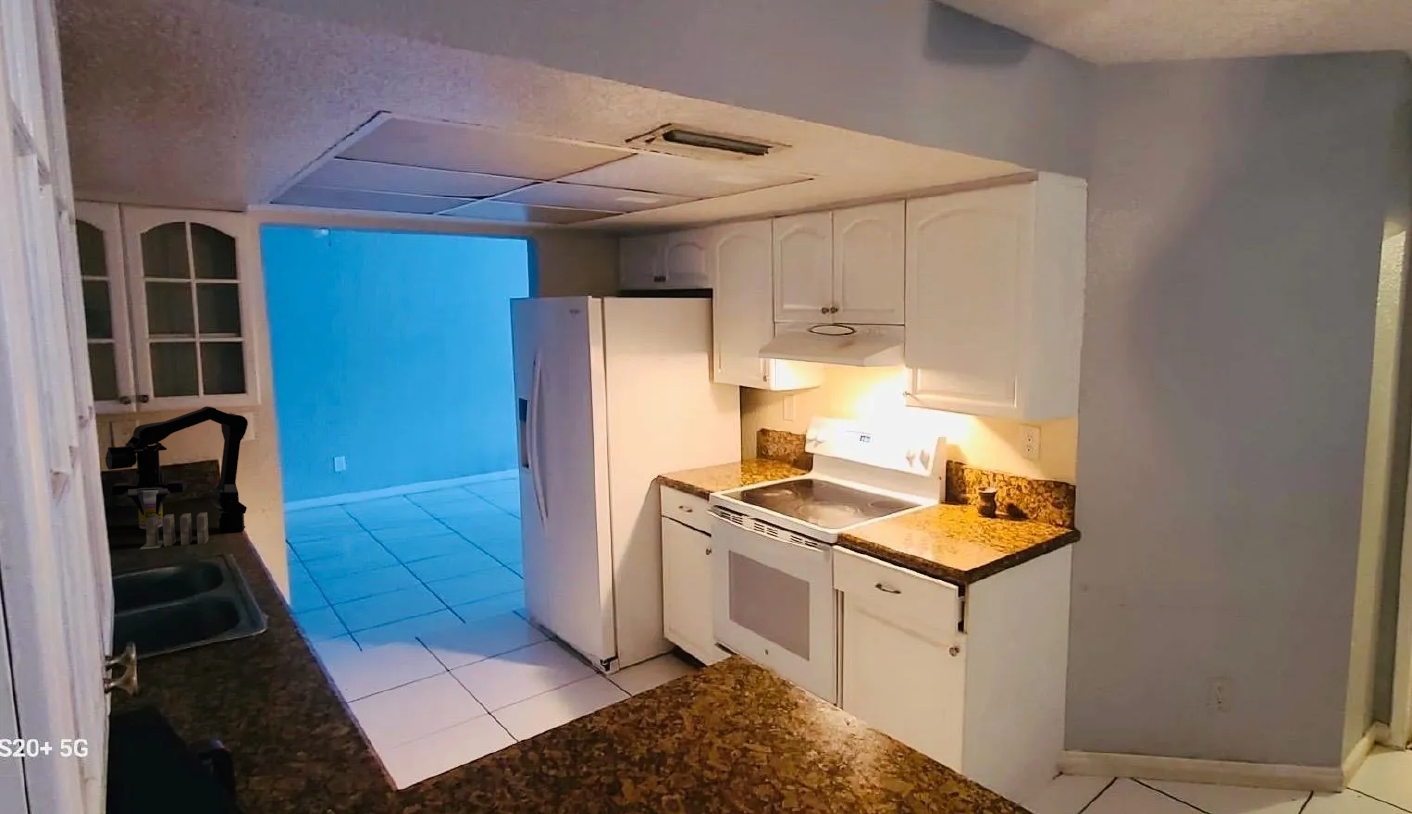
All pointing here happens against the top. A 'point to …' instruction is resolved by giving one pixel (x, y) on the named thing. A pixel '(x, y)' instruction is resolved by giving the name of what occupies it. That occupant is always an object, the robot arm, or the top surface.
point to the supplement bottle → (150, 508)
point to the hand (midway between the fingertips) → (150, 514)
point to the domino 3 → (202, 528)
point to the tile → (152, 530)
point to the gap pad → (153, 547)
